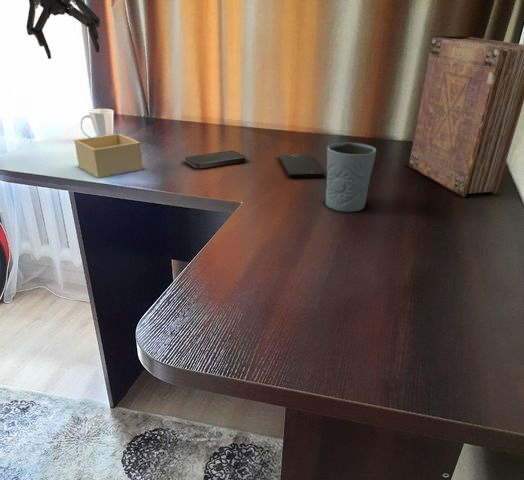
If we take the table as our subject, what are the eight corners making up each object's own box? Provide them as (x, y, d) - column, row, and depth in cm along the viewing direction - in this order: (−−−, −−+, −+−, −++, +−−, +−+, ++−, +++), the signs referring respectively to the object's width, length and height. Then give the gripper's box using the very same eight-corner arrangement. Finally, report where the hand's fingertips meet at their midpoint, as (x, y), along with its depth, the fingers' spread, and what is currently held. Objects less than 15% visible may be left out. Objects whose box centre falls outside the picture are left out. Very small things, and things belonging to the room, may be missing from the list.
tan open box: (98, 177, 122) (93, 149, 119) (78, 166, 129) (73, 139, 126) (143, 169, 129) (140, 142, 125) (122, 159, 136) (118, 133, 132)
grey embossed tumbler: (329, 213, 107) (336, 155, 100) (316, 197, 115) (321, 142, 108) (375, 211, 108) (384, 153, 101) (358, 195, 116) (366, 140, 109)
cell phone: (309, 157, 141) (309, 153, 140) (324, 177, 126) (324, 173, 126) (278, 157, 140) (278, 154, 139) (289, 178, 125) (289, 174, 125)
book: (497, 194, 119) (540, 47, 102) (463, 197, 117) (502, 47, 99) (437, 164, 139) (466, 36, 121) (407, 166, 137) (432, 36, 119)
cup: (120, 141, 150) (116, 112, 146) (85, 144, 147) (80, 114, 142) (114, 136, 155) (110, 107, 151) (81, 139, 152) (76, 109, 147)
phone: (247, 157, 136) (196, 164, 129) (247, 161, 136) (196, 169, 130) (233, 150, 141) (183, 156, 134) (233, 154, 142) (184, 161, 135)
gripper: (91, -13, 150) (116, 55, 151) (2, -5, 142) (29, 67, 142) (91, -34, 143) (117, 37, 144) (-2, -26, 135) (26, 49, 135)
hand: (74, 52), depth 143 cm, fingers open, 13 cm apart
